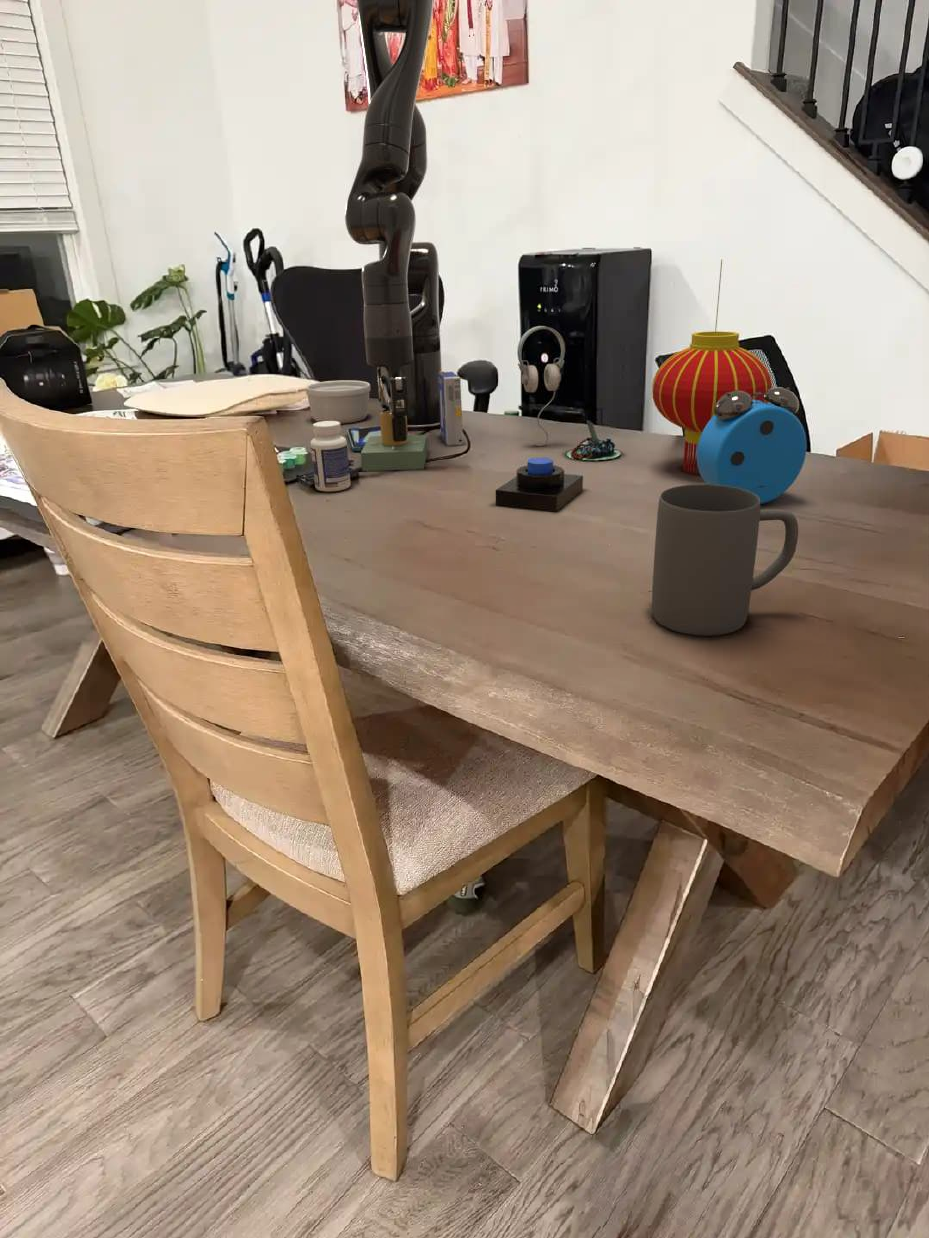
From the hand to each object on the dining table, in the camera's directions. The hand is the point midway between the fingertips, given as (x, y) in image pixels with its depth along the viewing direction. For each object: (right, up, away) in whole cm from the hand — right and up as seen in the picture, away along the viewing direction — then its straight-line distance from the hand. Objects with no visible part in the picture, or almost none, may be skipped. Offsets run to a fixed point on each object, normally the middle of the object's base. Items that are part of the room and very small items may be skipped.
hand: (395, 436), depth 140 cm
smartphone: (-6, +2, +16) cm, 17 cm away
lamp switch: (+22, -13, -20) cm, 33 cm away
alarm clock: (+50, -15, -25) cm, 58 cm away
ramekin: (-14, +11, +36) cm, 40 cm away
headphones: (+25, 0, +8) cm, 26 cm away
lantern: (+49, -7, -9) cm, 50 cm away
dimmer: (0, -4, +2) cm, 4 cm away
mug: (+36, -30, -58) cm, 75 cm away
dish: (+33, -3, +2) cm, 33 cm away
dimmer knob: (0, -1, +1) cm, 1 cm away
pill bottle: (-8, -11, -12) cm, 18 cm away
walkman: (+9, +2, +15) cm, 17 cm away
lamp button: (+22, -10, -22) cm, 33 cm away
